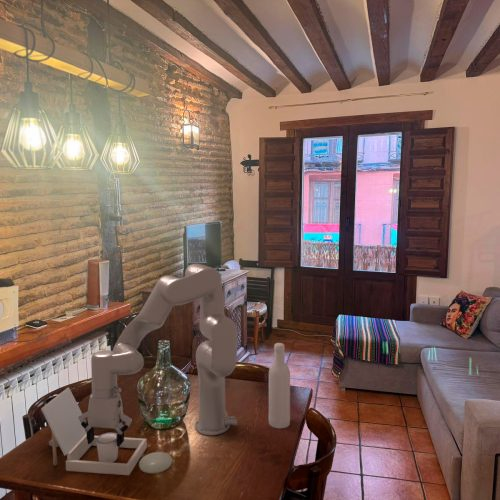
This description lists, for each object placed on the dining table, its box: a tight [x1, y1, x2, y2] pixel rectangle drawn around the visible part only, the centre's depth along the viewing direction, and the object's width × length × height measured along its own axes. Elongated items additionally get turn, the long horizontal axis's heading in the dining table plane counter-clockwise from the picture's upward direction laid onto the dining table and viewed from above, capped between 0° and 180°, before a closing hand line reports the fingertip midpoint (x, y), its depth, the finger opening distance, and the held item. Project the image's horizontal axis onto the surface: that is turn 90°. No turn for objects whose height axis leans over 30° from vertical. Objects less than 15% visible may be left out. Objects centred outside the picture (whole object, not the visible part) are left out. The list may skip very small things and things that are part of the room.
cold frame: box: [40, 387, 148, 476], centre depth 138 cm, size 27×15×20 cm, turn 83°
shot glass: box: [96, 432, 119, 463], centre depth 138 cm, size 7×7×7 cm
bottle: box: [267, 342, 291, 430], centre depth 158 cm, size 8×8×30 cm
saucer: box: [138, 451, 173, 474], centre depth 135 cm, size 10×10×1 cm
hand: (105, 443), depth 137 cm, fingers open, 9 cm apart
